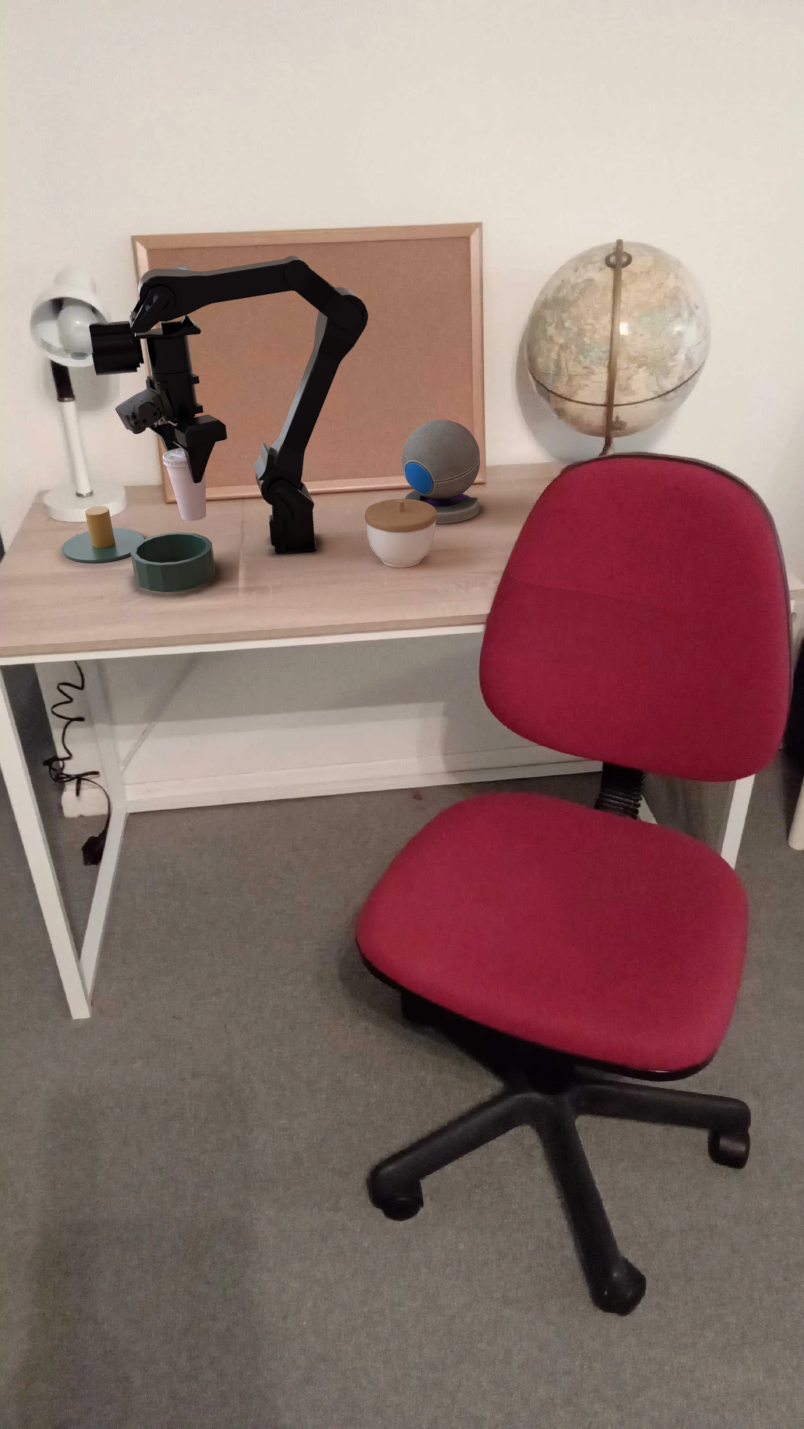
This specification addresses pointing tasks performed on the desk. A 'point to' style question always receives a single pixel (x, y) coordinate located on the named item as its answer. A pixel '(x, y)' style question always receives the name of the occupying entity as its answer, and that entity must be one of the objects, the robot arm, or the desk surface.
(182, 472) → the smoothie
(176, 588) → the tin
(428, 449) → the webcam
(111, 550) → the lid
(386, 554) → the trinket box
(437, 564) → the desk surface
